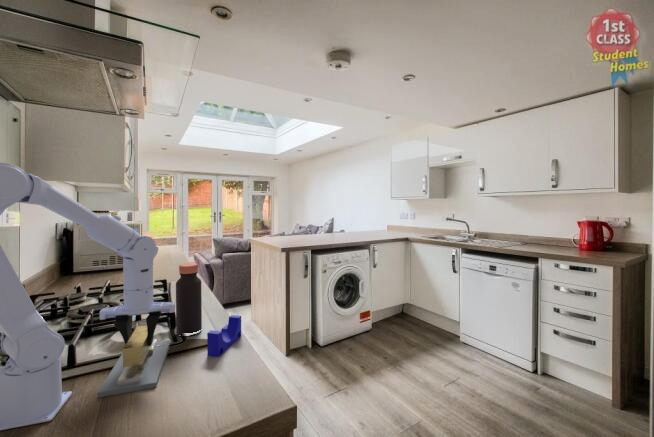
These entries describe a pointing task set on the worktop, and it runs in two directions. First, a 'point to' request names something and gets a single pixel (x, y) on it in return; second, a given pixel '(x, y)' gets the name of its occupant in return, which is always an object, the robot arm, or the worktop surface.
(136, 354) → the link bar
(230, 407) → the worktop surface
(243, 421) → the worktop surface
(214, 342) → the cable clip
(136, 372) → the mounting blocks
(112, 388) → the slate board
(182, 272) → the bottle
